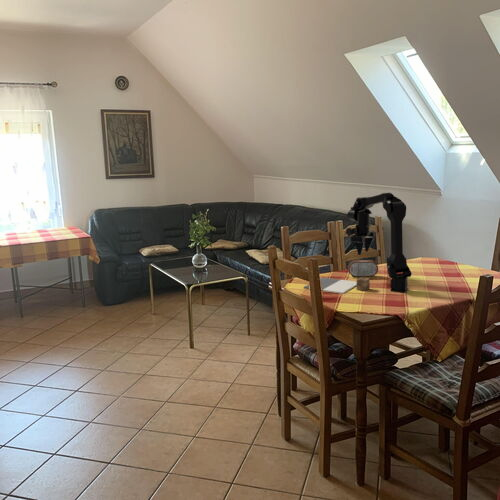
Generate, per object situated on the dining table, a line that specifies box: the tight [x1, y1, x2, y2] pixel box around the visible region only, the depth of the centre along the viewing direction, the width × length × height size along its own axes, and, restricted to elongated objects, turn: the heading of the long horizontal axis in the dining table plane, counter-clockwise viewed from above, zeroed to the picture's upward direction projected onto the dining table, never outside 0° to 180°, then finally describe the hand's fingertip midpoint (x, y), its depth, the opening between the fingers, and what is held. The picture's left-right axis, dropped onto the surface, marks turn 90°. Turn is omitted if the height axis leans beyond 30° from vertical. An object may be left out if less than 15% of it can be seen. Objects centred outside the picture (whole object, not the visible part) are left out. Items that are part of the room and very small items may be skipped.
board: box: [303, 277, 357, 295], centre depth 238 cm, size 20×20×1 cm
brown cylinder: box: [356, 277, 371, 292], centre depth 230 cm, size 4×4×5 cm
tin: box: [347, 259, 379, 278], centre depth 252 cm, size 15×3×8 cm, turn 84°
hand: (363, 253), depth 251 cm, fingers open, 9 cm apart
